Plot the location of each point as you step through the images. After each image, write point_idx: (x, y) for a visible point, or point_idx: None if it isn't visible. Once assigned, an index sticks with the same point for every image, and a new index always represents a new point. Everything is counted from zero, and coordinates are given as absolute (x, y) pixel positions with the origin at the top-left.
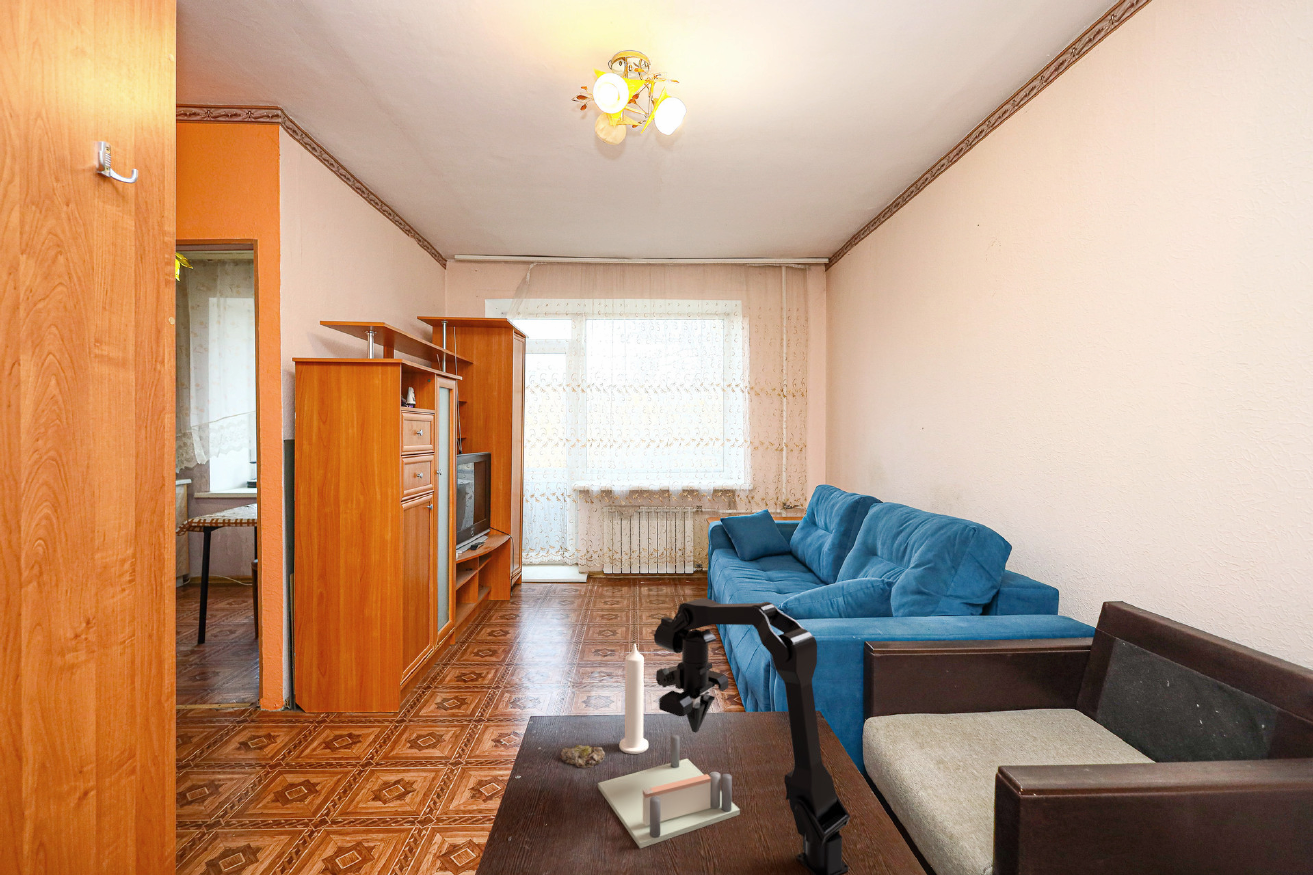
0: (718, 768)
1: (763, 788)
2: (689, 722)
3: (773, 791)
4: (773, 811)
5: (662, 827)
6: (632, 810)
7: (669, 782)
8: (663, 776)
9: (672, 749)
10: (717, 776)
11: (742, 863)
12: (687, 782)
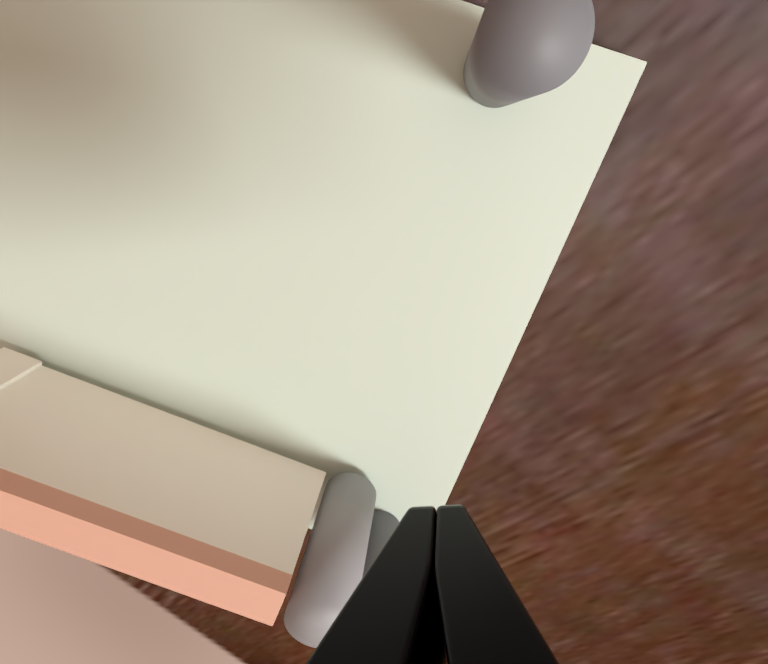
0: (702, 273)
1: (664, 529)
2: (341, 613)
3: (670, 566)
4: (532, 615)
5: None
6: (9, 240)
7: (321, 198)
8: (339, 117)
9: (471, 60)
10: (317, 639)
11: (230, 647)
12: (124, 562)
